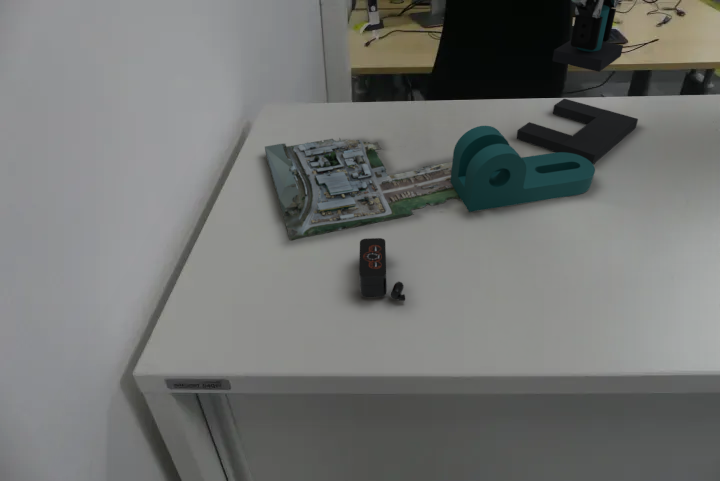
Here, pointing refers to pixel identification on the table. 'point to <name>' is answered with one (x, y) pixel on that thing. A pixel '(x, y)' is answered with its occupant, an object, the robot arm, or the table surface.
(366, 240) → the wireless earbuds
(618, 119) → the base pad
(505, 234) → the table surface
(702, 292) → the table surface
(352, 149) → the model
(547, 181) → the bracket
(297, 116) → the table surface
